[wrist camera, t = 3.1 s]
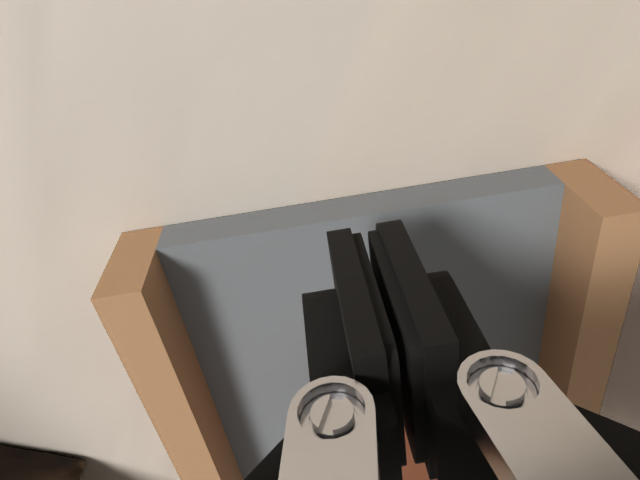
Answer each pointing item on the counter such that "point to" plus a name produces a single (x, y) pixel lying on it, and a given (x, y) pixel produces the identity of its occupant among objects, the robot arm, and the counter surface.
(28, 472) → the beverage carton
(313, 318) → the robot arm
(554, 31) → the counter surface
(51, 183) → the counter surface
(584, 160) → the lane
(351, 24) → the counter surface
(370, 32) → the counter surface
